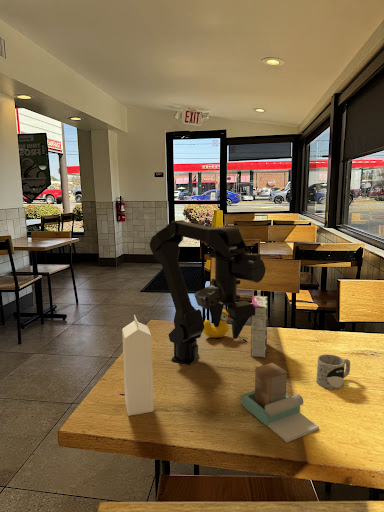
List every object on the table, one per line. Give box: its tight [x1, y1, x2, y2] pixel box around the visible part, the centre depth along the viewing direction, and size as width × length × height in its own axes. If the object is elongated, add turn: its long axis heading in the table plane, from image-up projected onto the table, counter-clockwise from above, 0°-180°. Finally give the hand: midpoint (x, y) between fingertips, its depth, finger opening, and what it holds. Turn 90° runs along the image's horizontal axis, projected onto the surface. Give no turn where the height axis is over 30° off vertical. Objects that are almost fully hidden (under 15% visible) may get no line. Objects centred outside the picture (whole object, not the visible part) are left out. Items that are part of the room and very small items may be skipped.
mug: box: [316, 353, 351, 391], centre depth 98 cm, size 10×7×7 cm
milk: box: [121, 314, 155, 417], centre depth 86 cm, size 6×6×22 cm
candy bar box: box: [250, 295, 269, 359], centre depth 116 cm, size 11×5×16 cm, turn 168°
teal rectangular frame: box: [240, 390, 320, 443], centre depth 83 cm, size 16×10×5 cm, turn 28°
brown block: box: [254, 362, 288, 410], centre depth 85 cm, size 5×5×10 cm
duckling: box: [202, 308, 231, 339], centre depth 128 cm, size 11×5×10 cm, turn 107°
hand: (225, 332), depth 99 cm, fingers open, 9 cm apart
